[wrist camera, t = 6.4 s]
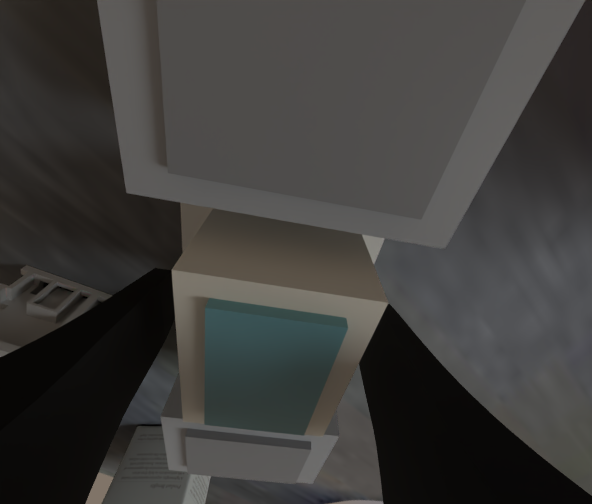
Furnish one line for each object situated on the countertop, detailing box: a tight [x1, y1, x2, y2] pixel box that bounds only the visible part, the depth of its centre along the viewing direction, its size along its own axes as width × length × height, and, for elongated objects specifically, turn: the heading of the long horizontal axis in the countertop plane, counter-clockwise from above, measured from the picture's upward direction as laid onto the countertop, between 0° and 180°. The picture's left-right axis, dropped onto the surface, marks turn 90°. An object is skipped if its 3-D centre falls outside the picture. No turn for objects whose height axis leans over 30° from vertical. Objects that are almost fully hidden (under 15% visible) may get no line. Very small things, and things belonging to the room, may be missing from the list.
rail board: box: [97, 0, 585, 484], centre depth 11 cm, size 9×20×7 cm, turn 169°
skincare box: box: [102, 426, 211, 504], centre depth 22 cm, size 6×6×7 cm
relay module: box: [172, 208, 388, 437], centre depth 10 cm, size 4×6×6 cm
